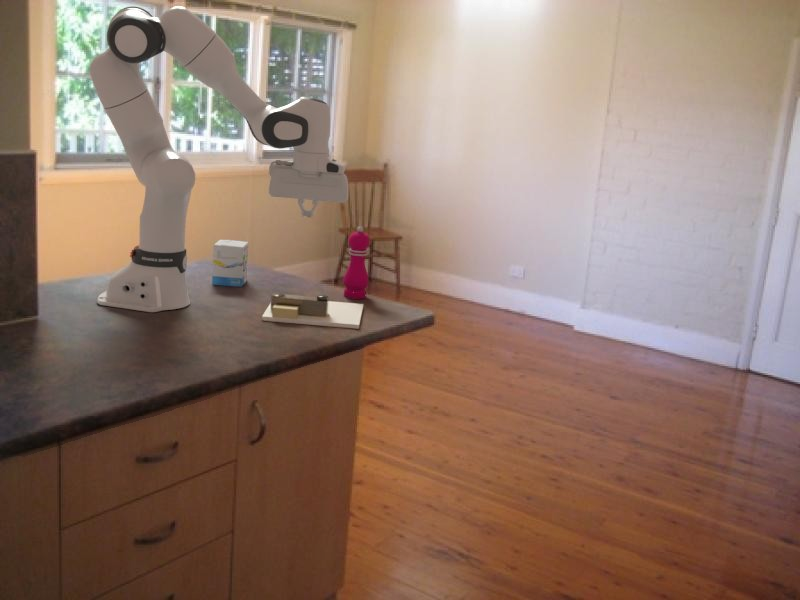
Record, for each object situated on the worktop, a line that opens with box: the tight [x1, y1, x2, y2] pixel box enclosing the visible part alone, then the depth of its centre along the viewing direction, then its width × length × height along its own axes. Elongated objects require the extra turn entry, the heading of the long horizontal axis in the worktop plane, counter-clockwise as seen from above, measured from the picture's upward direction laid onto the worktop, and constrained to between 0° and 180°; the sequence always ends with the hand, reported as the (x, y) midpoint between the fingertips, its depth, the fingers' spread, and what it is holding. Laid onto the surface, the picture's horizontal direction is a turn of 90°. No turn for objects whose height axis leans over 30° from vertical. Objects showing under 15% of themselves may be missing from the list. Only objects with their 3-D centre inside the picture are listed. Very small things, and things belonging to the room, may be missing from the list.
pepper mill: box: [342, 226, 371, 300], centre depth 244 cm, size 7×7×20 cm
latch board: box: [261, 300, 364, 330], centre depth 225 cm, size 24×20×4 cm
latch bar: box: [270, 293, 330, 316], centre depth 221 cm, size 14×4×5 cm, turn 88°
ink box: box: [211, 239, 249, 288], centre depth 248 cm, size 8×8×12 cm
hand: (307, 216), depth 225 cm, fingers closed
